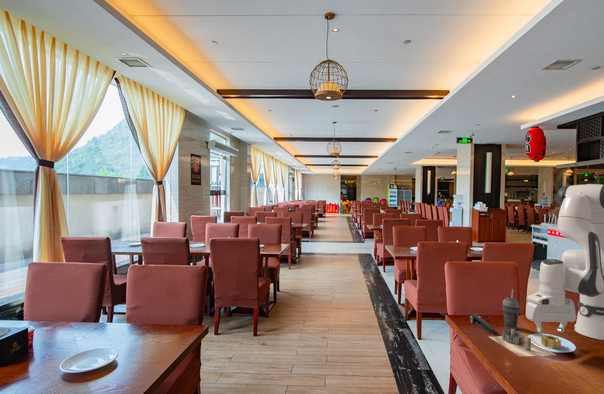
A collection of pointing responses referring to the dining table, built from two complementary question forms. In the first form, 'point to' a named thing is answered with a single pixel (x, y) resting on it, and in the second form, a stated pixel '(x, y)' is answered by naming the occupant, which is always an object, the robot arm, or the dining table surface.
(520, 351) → the gear board
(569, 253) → the robot arm
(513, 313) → the beverage cup
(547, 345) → the gear
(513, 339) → the gear
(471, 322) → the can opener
